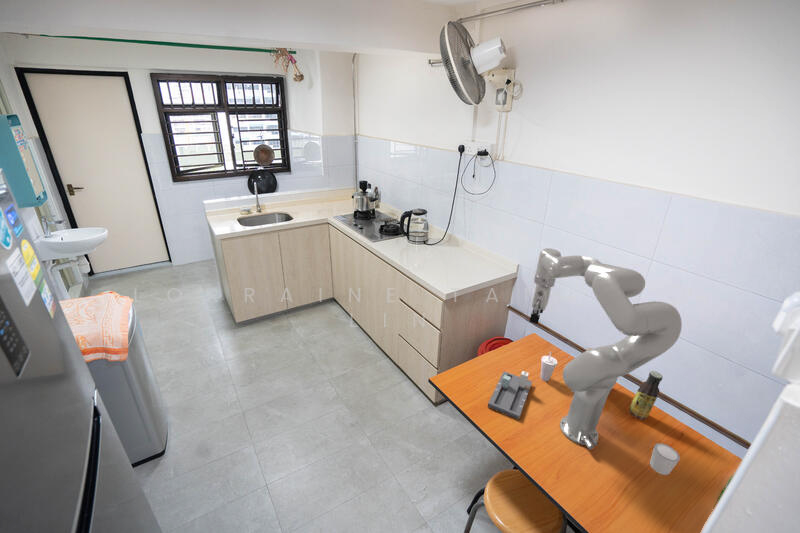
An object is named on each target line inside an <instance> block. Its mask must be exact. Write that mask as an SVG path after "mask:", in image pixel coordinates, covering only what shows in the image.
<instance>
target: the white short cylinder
mask: <svg viewBox="0 0 800 533" xmlns="http://www.w3.org/2000/svg"><path fill="white" fill-rule="evenodd" d="M679 462H680V454H679V453H678V451H676V450H675V448H673V447H671V446H670V445H668V444H665V443H656V444H655V445H654V447H653V450H652V453H651V458H650V460H649V465H650V467H651V469H652V470H654V472H657V474H660V475H663V476H667V475H670V473H672V471H673V469H674V468H675V467H676V465H677V464H678V463H679Z"/></svg>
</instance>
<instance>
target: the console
mask: <svg viewBox="0 0 800 533" xmlns="http://www.w3.org/2000/svg"><path fill="white" fill-rule="evenodd" d="M504 375H507V376H509V377H511V378H510V383H509V386H508V388H506V390H504V389H502V388H503V386H501V385H502V380H503V377H504ZM519 381H520V376H518V375H515V374H512V373H510V372H508V371H503V372H502V373H501V376H500V378H499V380H498V382H497V384H496V386H495V389H494V391H493V393H492V395H491V397H490V399H489V400H488V403H487V408H489V407H490V408H489V409H491V408H492V409H491V410H494V411H496V410H497V411H496V412H498V411H499V413H501V414H503V415H505V414H506V416H508V417H510V418H513V419H516V420H517V419H518V420H517V421H520V418H521V415H522V414H523V410H524V407H525V404H526V402H527V398H528V396H529V393H530V390H531V388H532V387H531V386H532V383H533V381H531V380H529V379H527V383H526V386H525V388H523V390H522V389H519V388H520V386H518V385H519Z"/></svg>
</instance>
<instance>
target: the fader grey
mask: <svg viewBox="0 0 800 533" xmlns="http://www.w3.org/2000/svg"><path fill="white" fill-rule="evenodd" d="M529 375H530V374H529V372H528V371H525V370H522V371H521V374H520V376H519V377H520V381H519V385H518V386H520V388H519V389H522V390H523V388H525V386H526V383H527V380H529Z"/></svg>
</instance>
